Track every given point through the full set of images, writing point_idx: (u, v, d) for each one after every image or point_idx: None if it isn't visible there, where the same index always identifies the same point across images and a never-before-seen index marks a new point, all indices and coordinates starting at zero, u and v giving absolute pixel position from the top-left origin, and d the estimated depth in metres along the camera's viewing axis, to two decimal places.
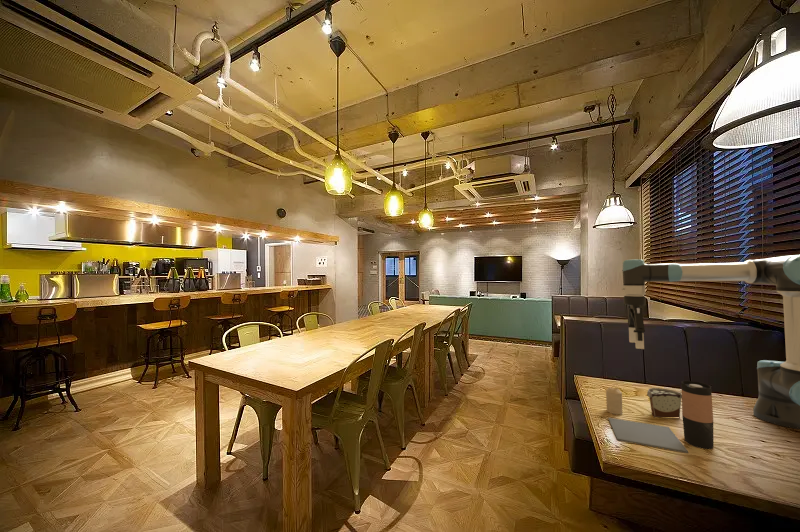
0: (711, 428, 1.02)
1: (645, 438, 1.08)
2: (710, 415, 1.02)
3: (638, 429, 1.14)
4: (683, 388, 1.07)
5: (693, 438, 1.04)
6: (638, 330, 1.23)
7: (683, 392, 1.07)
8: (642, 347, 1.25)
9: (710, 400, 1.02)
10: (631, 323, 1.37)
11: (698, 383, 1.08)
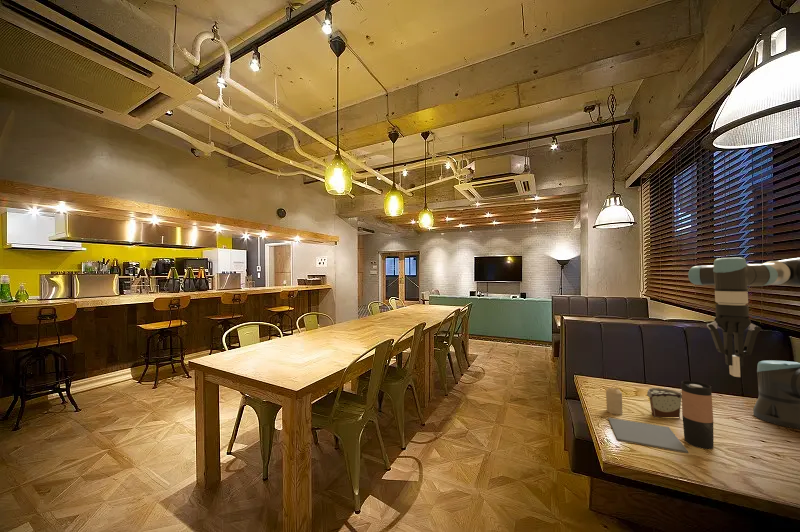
0: (711, 428, 1.02)
1: (645, 438, 1.08)
2: (710, 415, 1.02)
3: (638, 429, 1.14)
4: (683, 388, 1.07)
5: (693, 438, 1.04)
6: (718, 350, 1.04)
7: (683, 392, 1.07)
8: (733, 374, 1.01)
9: (710, 400, 1.02)
10: (735, 346, 1.02)
11: (698, 383, 1.08)
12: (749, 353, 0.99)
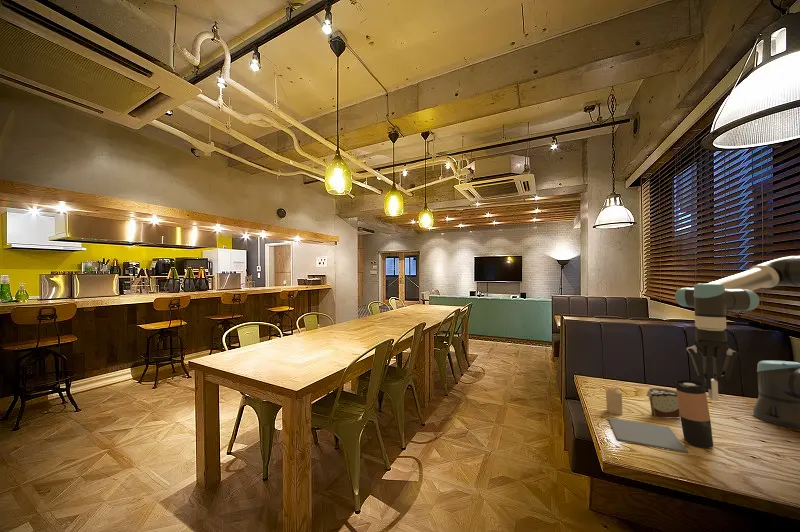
0: (709, 426, 1.02)
1: (645, 438, 1.08)
2: (706, 413, 1.02)
3: (638, 429, 1.14)
4: (677, 388, 1.07)
5: (692, 438, 1.04)
6: (697, 373, 1.06)
7: (678, 392, 1.07)
8: (711, 397, 1.03)
9: (705, 398, 1.03)
10: (714, 370, 1.04)
11: (692, 381, 1.09)
12: (727, 378, 1.01)
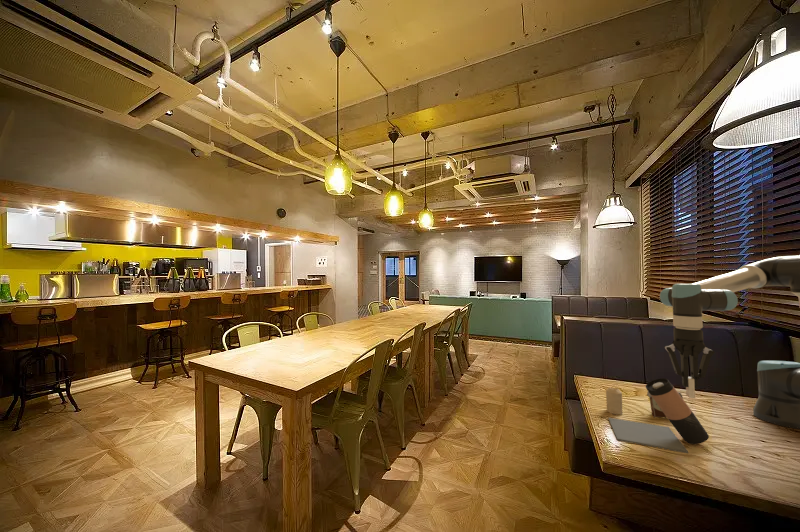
0: (694, 419, 1.03)
1: (645, 438, 1.08)
2: (684, 407, 1.04)
3: (638, 429, 1.14)
4: (649, 392, 1.10)
5: (687, 436, 1.04)
6: (675, 372, 1.09)
7: (652, 396, 1.10)
8: (688, 395, 1.06)
9: (675, 394, 1.06)
10: (691, 369, 1.07)
11: (659, 379, 1.12)
12: (703, 376, 1.04)
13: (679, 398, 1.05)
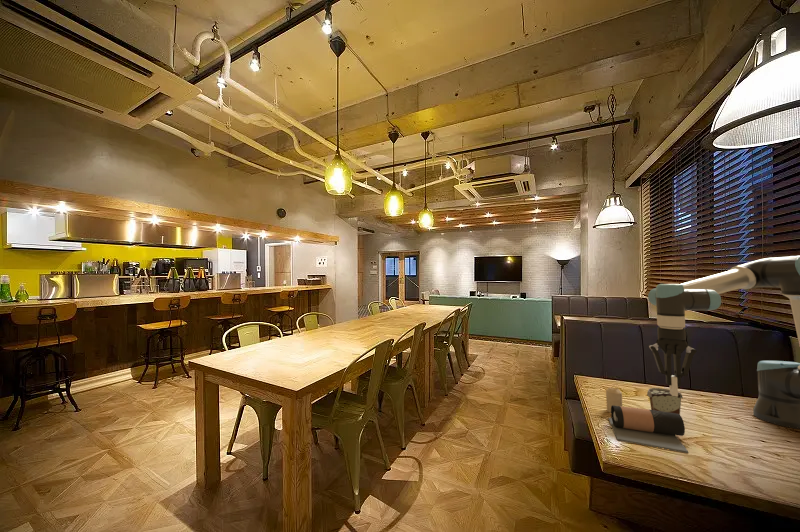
0: (656, 411, 1.11)
1: (645, 438, 1.08)
2: (641, 410, 1.13)
3: None
4: (621, 426, 1.14)
5: (675, 427, 1.07)
6: (659, 370, 1.11)
7: (625, 427, 1.13)
8: (671, 393, 1.08)
9: (626, 407, 1.15)
10: (674, 367, 1.09)
11: (612, 413, 1.20)
12: (686, 374, 1.06)
13: (631, 408, 1.15)
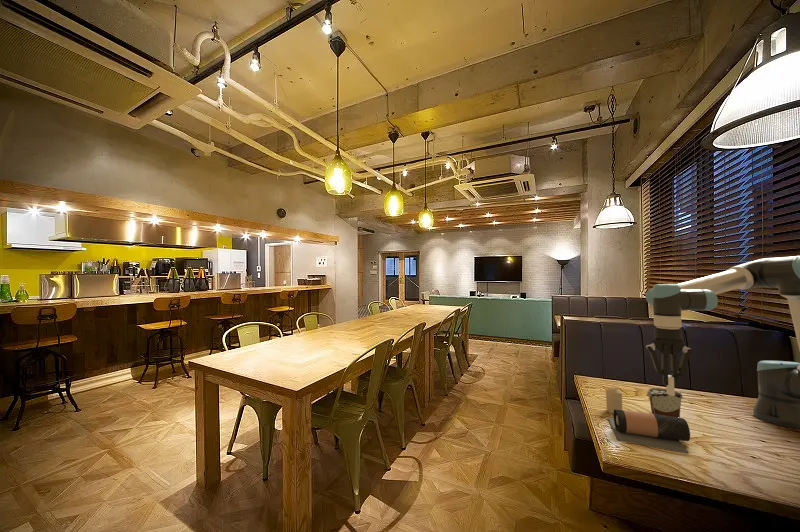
0: (664, 426, 1.05)
1: (645, 438, 1.08)
2: (648, 425, 1.07)
3: None
4: None
5: None
6: (656, 370, 1.11)
7: None
8: (668, 393, 1.08)
9: (632, 421, 1.09)
10: (671, 367, 1.09)
11: (615, 410, 1.16)
12: (682, 374, 1.07)
13: (637, 421, 1.08)
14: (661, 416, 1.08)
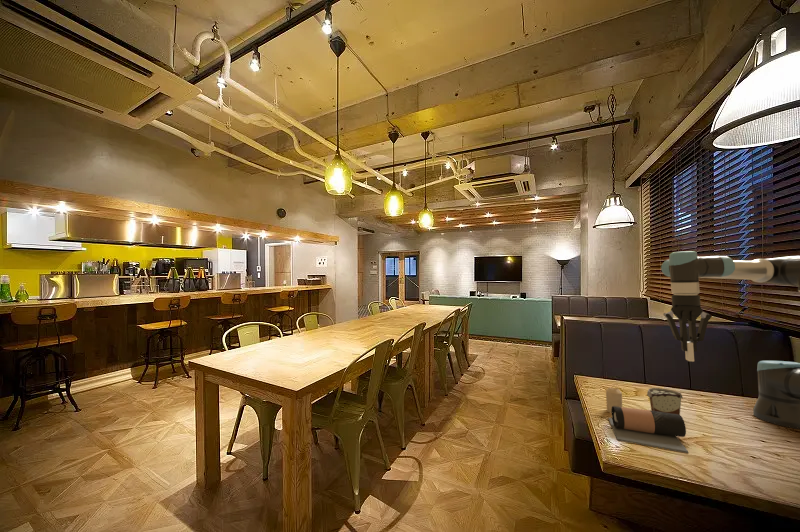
0: (658, 414, 1.10)
1: (645, 438, 1.08)
2: (643, 412, 1.12)
3: None
4: (621, 428, 1.13)
5: (676, 431, 1.06)
6: (674, 337, 1.12)
7: (625, 428, 1.13)
8: (688, 359, 1.09)
9: (627, 410, 1.14)
10: (690, 333, 1.10)
11: (612, 412, 1.19)
12: (701, 339, 1.08)
13: (633, 410, 1.13)
14: None
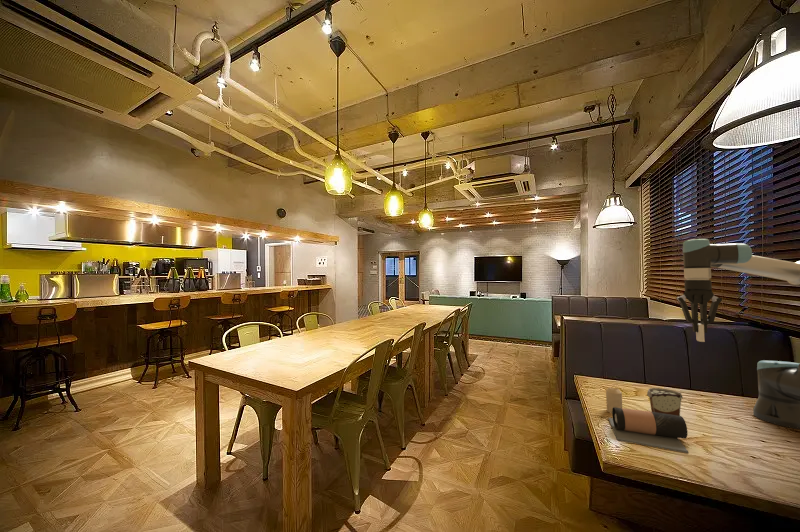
0: (660, 418, 1.08)
1: (645, 438, 1.08)
2: (645, 417, 1.10)
3: None
4: (621, 429, 1.13)
5: (677, 435, 1.05)
6: (686, 319, 1.20)
7: (625, 430, 1.13)
8: (698, 339, 1.17)
9: (629, 413, 1.12)
10: (701, 316, 1.18)
11: (613, 411, 1.18)
12: (712, 321, 1.16)
13: (634, 413, 1.11)
14: None
